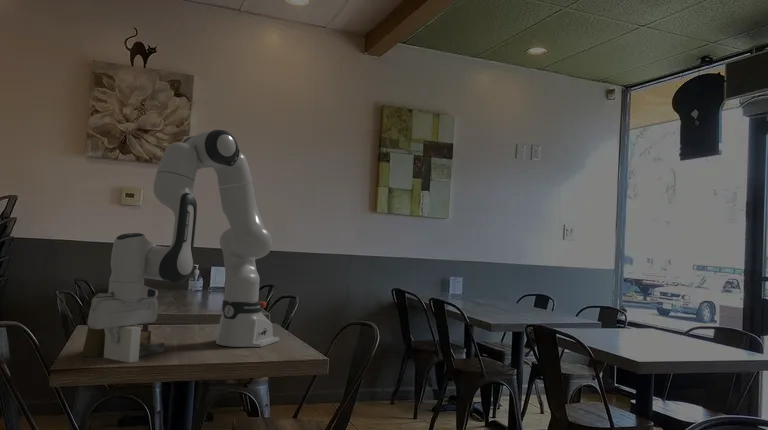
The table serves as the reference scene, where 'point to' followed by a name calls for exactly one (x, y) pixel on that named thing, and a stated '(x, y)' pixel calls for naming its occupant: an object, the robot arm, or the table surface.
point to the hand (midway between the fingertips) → (122, 342)
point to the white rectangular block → (123, 344)
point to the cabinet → (148, 343)
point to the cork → (94, 342)
